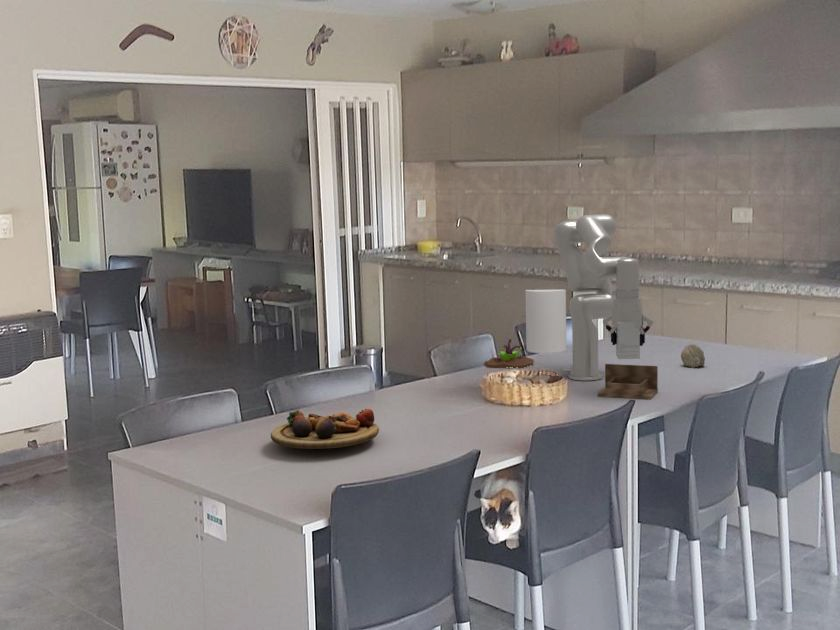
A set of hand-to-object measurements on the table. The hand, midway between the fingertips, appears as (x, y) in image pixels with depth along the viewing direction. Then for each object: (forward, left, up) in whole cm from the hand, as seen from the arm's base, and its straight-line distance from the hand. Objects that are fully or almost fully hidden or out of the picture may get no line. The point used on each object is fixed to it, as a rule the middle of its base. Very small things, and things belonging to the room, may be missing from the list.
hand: (627, 344), depth 335 cm
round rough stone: (+14, +54, -17) cm, 58 cm away
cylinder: (-51, +77, -17) cm, 94 cm away
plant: (-57, +44, -18) cm, 75 cm away
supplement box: (0, 0, -5) cm, 5 cm away
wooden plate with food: (-73, -82, -18) cm, 111 cm away
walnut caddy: (0, 0, -17) cm, 17 cm away
